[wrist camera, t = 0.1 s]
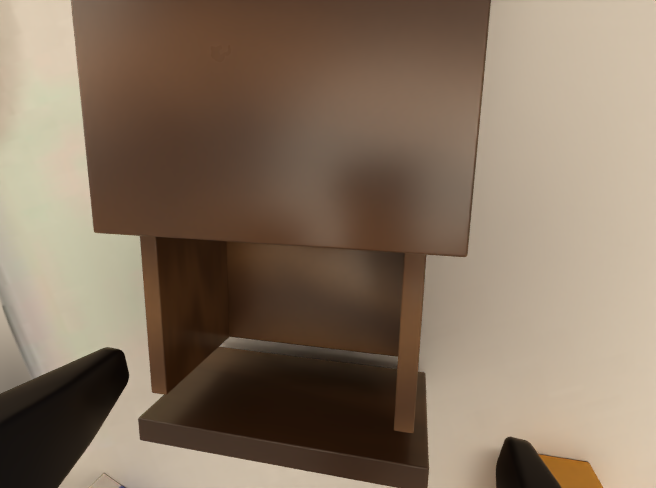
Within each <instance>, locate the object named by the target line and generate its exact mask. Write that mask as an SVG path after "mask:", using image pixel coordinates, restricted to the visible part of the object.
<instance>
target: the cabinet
mask: <svg viewBox="0 0 656 488" xmlns="http://www.w3.org/2000/svg"><path fill="white" fill-rule="evenodd" d="M490 5H491V0H71V6H72V16H73V26H74V36H75V46H76V56H77V66H78V76H79V86H80V96H81V106H82V116H83V126H84V136H85V146H86V156H87V166H88V176H89V187H90V197H91V207H92V217H93V227H94V232H95V233H106V234H121V235H136V236H152V237H167V238H182V239H197V240H212V241H228V242H243V243H258V244H273V245H288V246H304V247H319V248H334V249H349V250H364V251H380V252H395V253H410V254H425V255H440V256H456V257H466V256H467V254H468V243H469V232H470V221H471V210H472V200H473V189H474V178H475V167H476V156H477V145H478V135H479V124H480V113H481V102H482V91H483V80H484V70H485V59H486V48H487V37H488V26H489V16H490Z"/></svg>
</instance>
